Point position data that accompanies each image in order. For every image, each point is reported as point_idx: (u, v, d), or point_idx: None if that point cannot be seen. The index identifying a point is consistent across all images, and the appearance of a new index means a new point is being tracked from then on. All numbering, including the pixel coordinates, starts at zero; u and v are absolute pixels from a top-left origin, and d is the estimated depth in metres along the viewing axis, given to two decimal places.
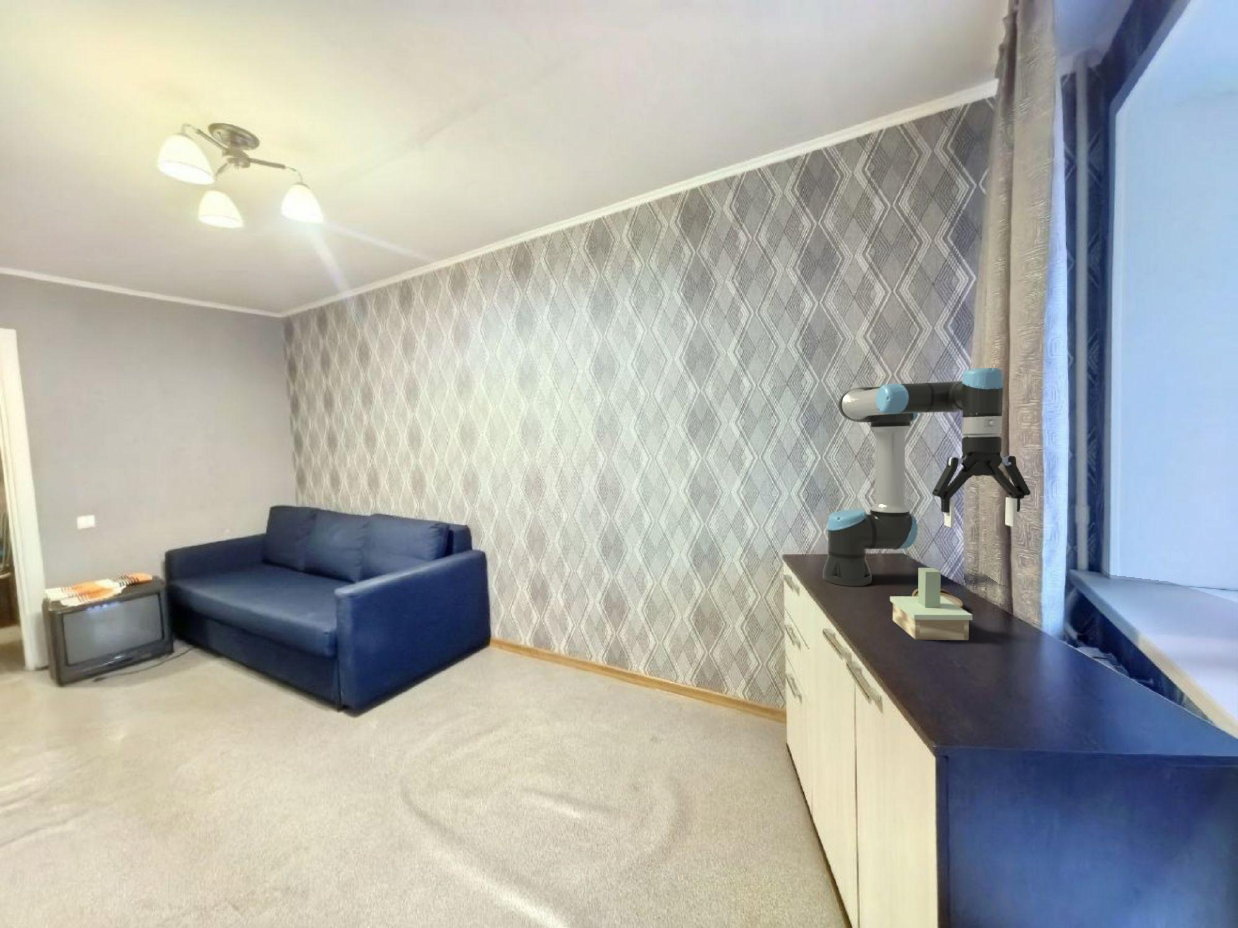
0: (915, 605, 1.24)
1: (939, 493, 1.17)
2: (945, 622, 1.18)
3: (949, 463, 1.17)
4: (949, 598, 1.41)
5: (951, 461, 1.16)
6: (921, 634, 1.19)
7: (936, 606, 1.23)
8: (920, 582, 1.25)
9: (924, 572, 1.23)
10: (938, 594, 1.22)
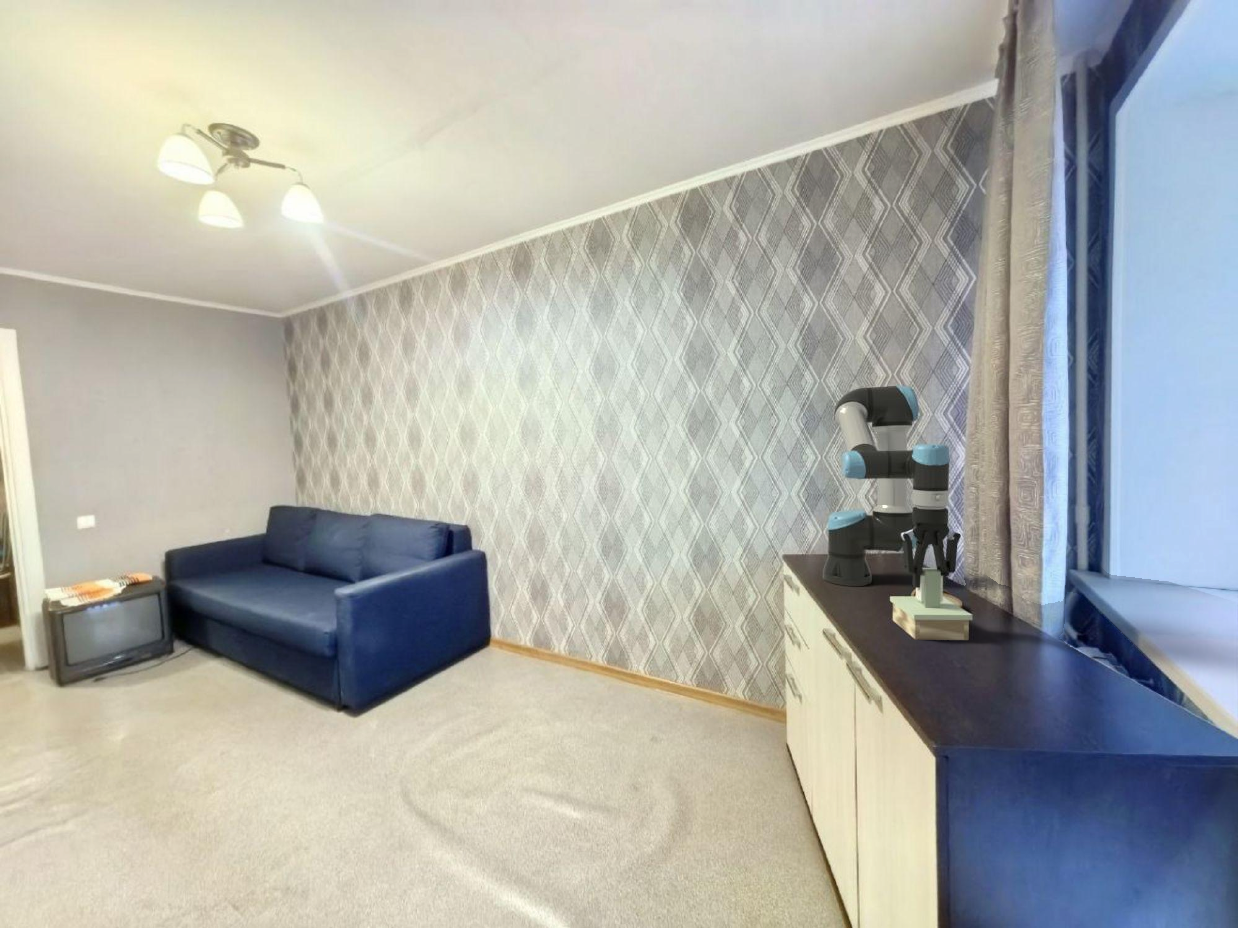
0: (915, 605, 1.24)
1: (910, 570, 1.23)
2: (945, 622, 1.18)
3: (903, 539, 1.24)
4: (948, 598, 1.41)
5: (904, 538, 1.23)
6: (921, 634, 1.19)
7: (936, 606, 1.23)
8: None
9: (924, 572, 1.23)
10: (938, 594, 1.22)
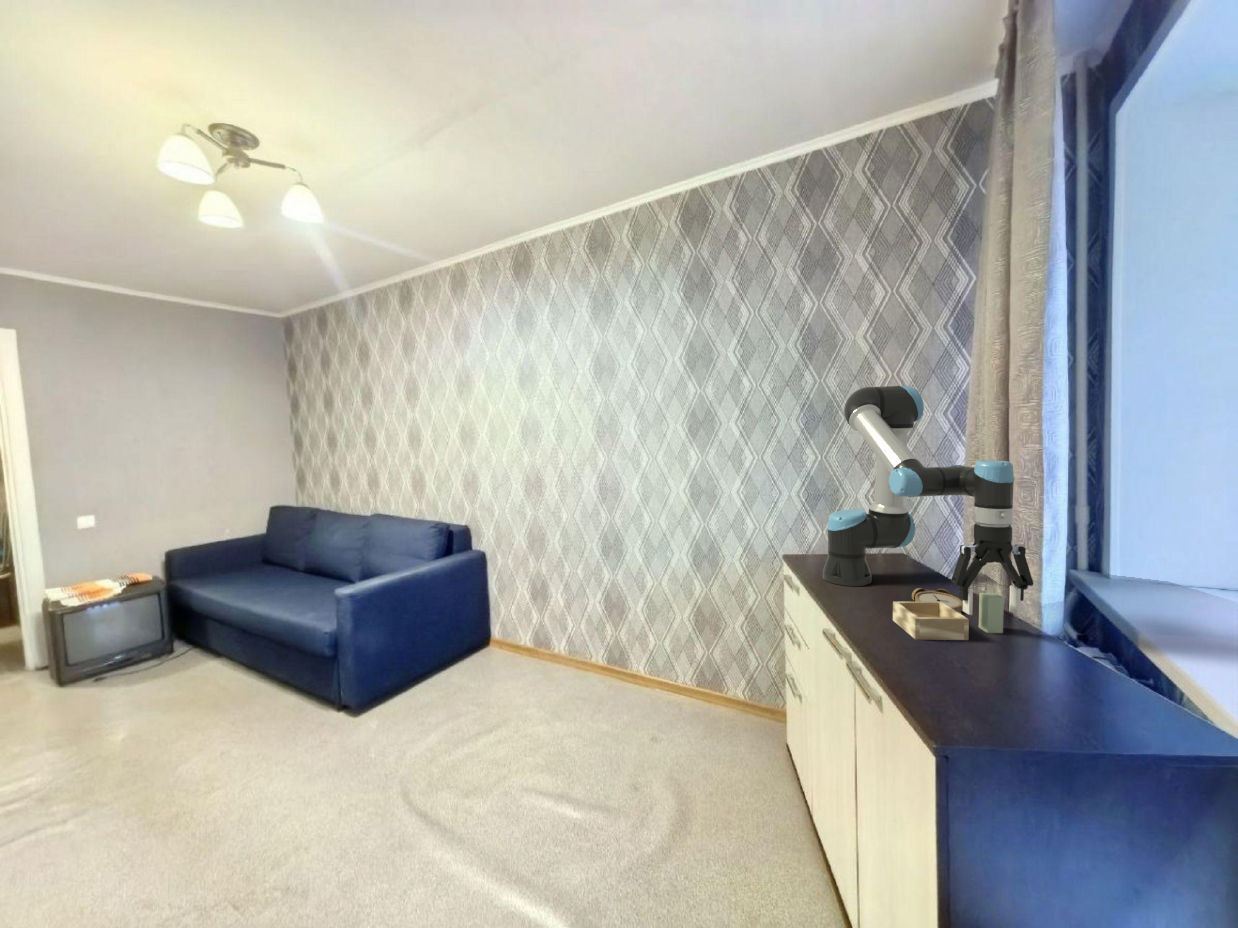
0: None
1: (958, 582, 1.22)
2: (945, 622, 1.18)
3: (962, 552, 1.23)
4: (949, 597, 1.41)
5: (964, 550, 1.22)
6: (921, 634, 1.19)
7: (999, 632, 1.21)
8: (981, 607, 1.24)
9: (987, 598, 1.22)
10: (1001, 620, 1.21)
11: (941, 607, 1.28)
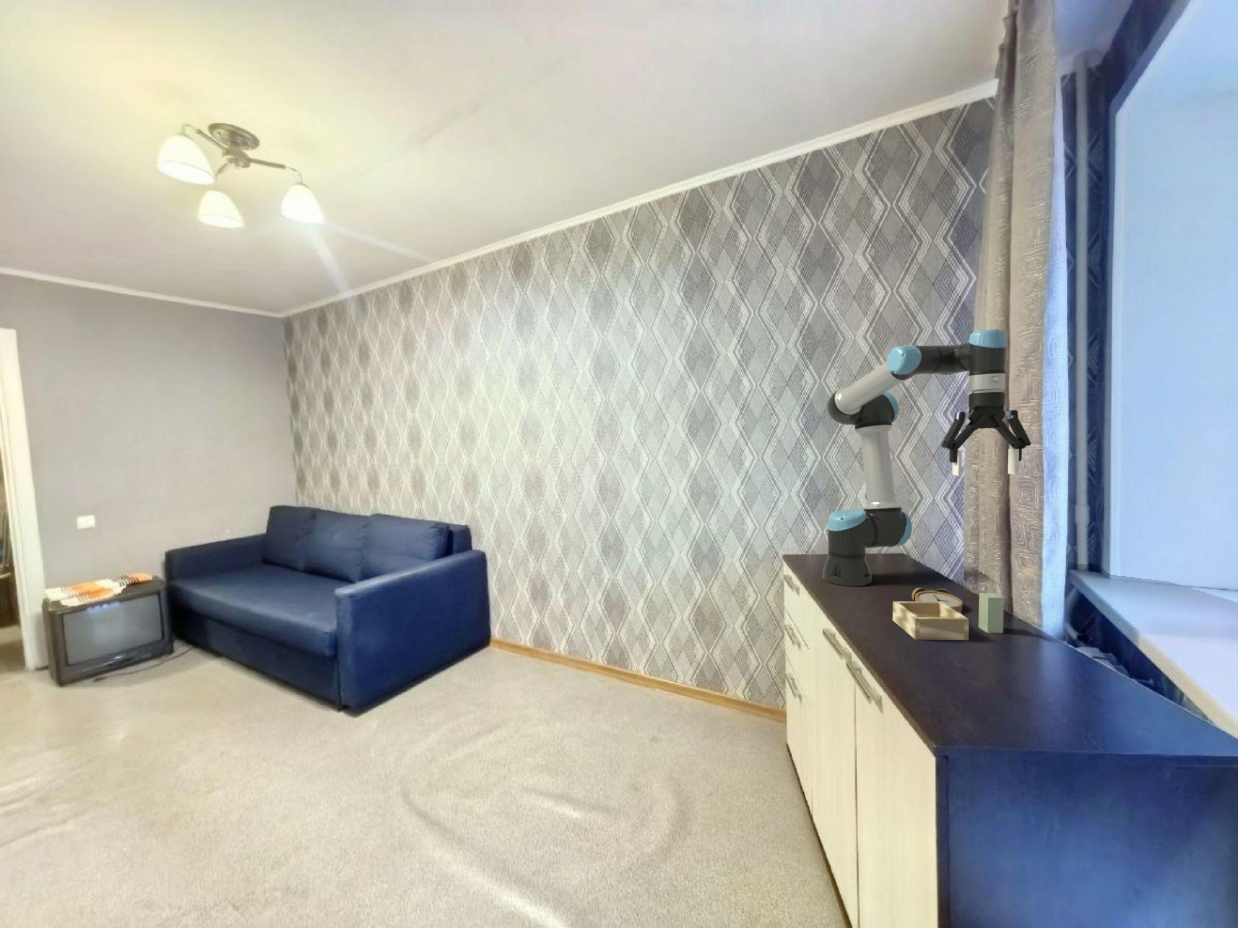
0: None
1: (948, 444, 1.28)
2: (945, 622, 1.18)
3: (957, 417, 1.29)
4: (949, 597, 1.41)
5: (959, 415, 1.28)
6: (921, 634, 1.19)
7: (999, 632, 1.21)
8: (981, 607, 1.24)
9: (986, 598, 1.22)
10: (1001, 620, 1.21)
11: (941, 607, 1.28)
